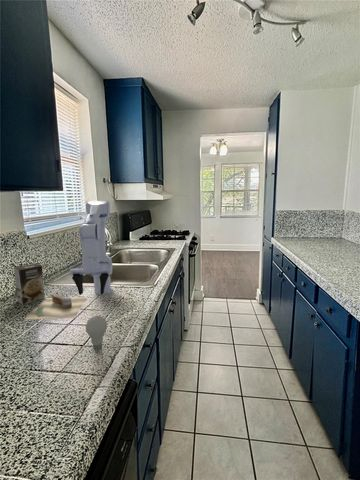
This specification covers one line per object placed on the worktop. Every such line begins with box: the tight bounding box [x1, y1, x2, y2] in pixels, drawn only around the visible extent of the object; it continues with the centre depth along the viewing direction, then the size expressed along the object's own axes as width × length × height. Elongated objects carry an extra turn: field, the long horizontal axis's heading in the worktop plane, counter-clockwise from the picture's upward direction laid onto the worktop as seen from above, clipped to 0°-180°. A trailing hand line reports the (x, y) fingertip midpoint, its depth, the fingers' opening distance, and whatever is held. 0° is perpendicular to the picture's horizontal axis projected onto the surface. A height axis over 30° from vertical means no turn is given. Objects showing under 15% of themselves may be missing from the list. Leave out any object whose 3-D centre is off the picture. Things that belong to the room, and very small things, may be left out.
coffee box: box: [13, 263, 46, 306], centre depth 110 cm, size 9×6×16 cm
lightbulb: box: [85, 315, 108, 352], centre depth 76 cm, size 6×6×11 cm
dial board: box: [24, 296, 89, 321], centre depth 104 cm, size 20×18×1 cm
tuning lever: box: [50, 294, 72, 308], centre depth 106 cm, size 12×4×3 cm, turn 60°
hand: (91, 293), depth 93 cm, fingers open, 7 cm apart
